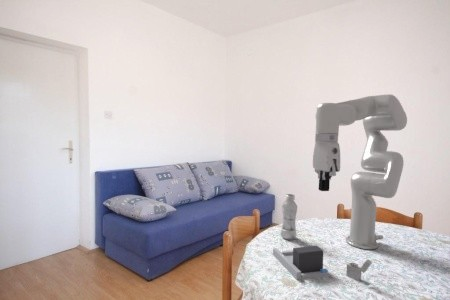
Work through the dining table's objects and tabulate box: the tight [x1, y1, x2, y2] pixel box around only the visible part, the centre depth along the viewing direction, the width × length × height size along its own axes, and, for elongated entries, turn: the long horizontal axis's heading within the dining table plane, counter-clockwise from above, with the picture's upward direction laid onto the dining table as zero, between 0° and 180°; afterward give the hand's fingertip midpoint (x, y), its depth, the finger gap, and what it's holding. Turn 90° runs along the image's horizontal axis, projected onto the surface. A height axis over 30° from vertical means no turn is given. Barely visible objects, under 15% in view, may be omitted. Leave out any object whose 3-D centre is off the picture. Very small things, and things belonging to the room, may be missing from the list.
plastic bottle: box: [280, 193, 298, 241], centre depth 118 cm, size 6×7×20 cm
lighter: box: [346, 259, 373, 282], centre depth 85 cm, size 7×2×8 cm, turn 39°
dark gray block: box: [292, 245, 324, 273], centre depth 91 cm, size 9×4×7 cm, turn 104°
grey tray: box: [272, 247, 330, 281], centre depth 94 cm, size 12×18×3 cm, turn 14°
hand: (323, 190), depth 94 cm, fingers closed
